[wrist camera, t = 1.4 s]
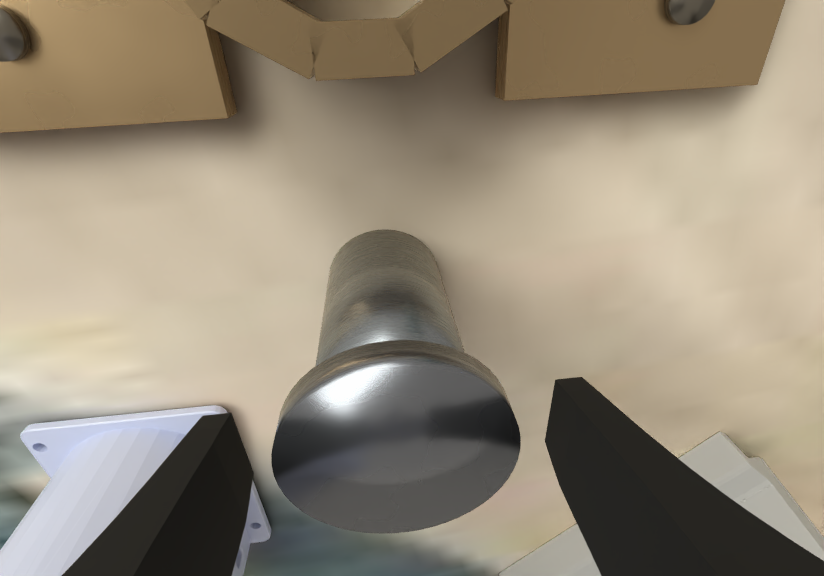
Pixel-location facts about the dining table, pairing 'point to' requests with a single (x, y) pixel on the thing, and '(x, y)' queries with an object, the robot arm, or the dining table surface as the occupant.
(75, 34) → the hinge leaves
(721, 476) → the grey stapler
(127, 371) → the dining table surface
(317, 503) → the pin
